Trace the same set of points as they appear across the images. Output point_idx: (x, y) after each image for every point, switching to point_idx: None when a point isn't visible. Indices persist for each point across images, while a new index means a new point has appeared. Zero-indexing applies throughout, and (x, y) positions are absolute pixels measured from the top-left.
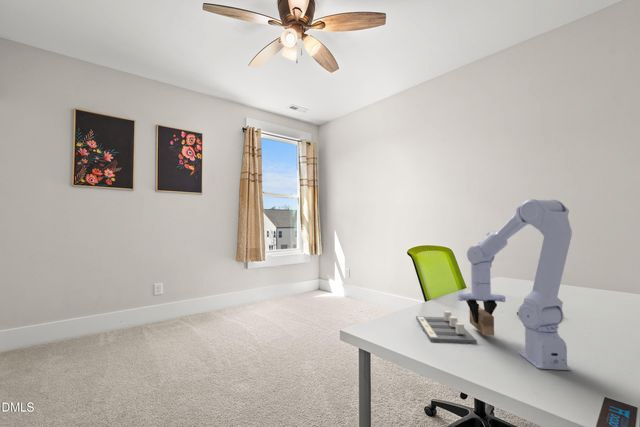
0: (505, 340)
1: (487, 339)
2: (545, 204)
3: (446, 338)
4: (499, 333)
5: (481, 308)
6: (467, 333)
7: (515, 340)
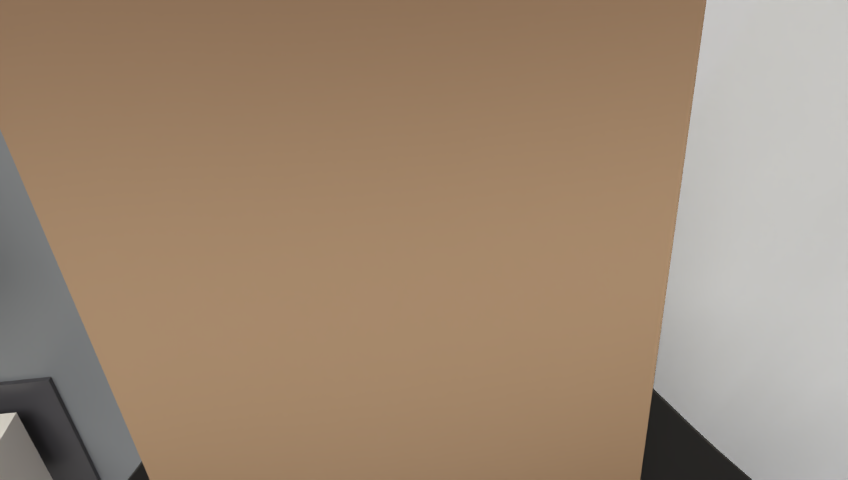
0: (674, 368)
1: None
2: None
3: None
4: (773, 90)
5: (627, 398)
6: None
7: (824, 340)
